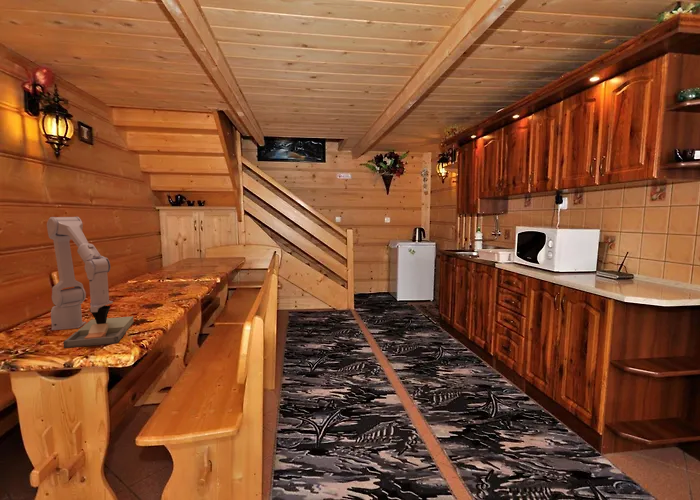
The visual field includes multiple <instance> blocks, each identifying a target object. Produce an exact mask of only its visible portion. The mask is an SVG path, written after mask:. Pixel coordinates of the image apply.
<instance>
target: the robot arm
mask: <svg viewBox="0 0 700 500" xmlns="http://www.w3.org/2000/svg"><path fill="white" fill-rule="evenodd" d="M83 225H84V224H83V221H82V219H81V218H80V217H79V216H58V217H57V216H50V217H49V218H48V219H47V221H46V228H47V229H46V230H47V234H48V235H47V236H48V239H50V240H53V247H54V254H55V258H56V259H55V261H56V266H57V272H58V279H59V281H58V282H57V283H55V285H53V286H52V288H51V292H52V293H51V301H52V303H53V305H54V306H52V307H51V310H50V321H51V330H50V331H58V330H70V329H71V330H72V329H80V328H81V327H83V326H84V325H85V324H86V323H87V321H83V316H82V314H83V313H82V304H83V303H84V301H85V300H86V298H87V292H86V289H85V288H84V284H83V283H82V282H80V281H78V280H76V276H75V271H74V262H73V258H72V248H71V244H70V241H73V243H74V244H75V245H76V247H77V254H78V255H79V256H80V258H81V260H82V261H83V263H84V272H85V273H86V278H87V280H88V282H89V284H88V285H89V295H90V298H89V299H90V303H89V304H90V307H89V312H90V313H91V315H92V316H93V319H95V320H96V323H97V324H105V323H106V320H107V318H108V314H109V311H110V309H111V305H112V304H113V303H114V301H113V300H110V295H109V294H110V292H109V278H108V274H109V272H110V271H111V262H110V259H109V258H108V257H106V256H103V255H101V254H100V252H99V250H98V249H97V248H96V246H95V244H93V243H90V242H89V241H88V239H87V237H86V236H85V234H84V232H83V227H84V226H83Z"/></svg>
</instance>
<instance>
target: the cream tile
mask: <svg viewBox="0 0 700 500" xmlns="http://www.w3.org/2000/svg"><path fill="white" fill-rule="evenodd" d="M108 328H109V327H108V323H105V324H93V325H92V326H91V328H90V330H89V333H100V332H106V333H107V331H108ZM89 333H88V334H89Z"/></svg>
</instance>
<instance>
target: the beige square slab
mask: <svg viewBox="0 0 700 500" xmlns="http://www.w3.org/2000/svg"><path fill="white" fill-rule="evenodd" d="M134 322H135V321H134V316H133V315H132V316H122V317H121V316H120V317H118V316H117V317H107V320H106V323H108V327H109V328H108V331H107V333H117V332H119V331H120V330H121V329H122V328H125V329H126V332H127V331H128V330H129V328H130V327H131V326H132V325H133V324H134ZM93 324H97V323H96V320H95V318H93V319H90V320H89V321H87V322H86V323H85V324H84V325H83V326H81V327H80V328H78V330H77V331H76V332H79V336H81V335H88V333H89V330H90V328H91V326H92V325H93Z"/></svg>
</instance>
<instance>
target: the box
mask: <svg viewBox="0 0 700 500" xmlns="http://www.w3.org/2000/svg"><path fill="white" fill-rule="evenodd" d="M126 333H127V331H126V329H125V328H122V329H121V330H120V331H119V332H117V333H106V337H102V338H90V339H85V337H86V336H87V335H81V336H79V332H77V331H75V332H73V333H72V334H71V335H70V336H69V337H68V338H66V339H64V340H63V349H68V348H70V349H71V348H81V347H89V346H101V345H110V344H118V343H119V342H120V341H121V340H122V339H123V337H124V336H125V335H126Z"/></svg>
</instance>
